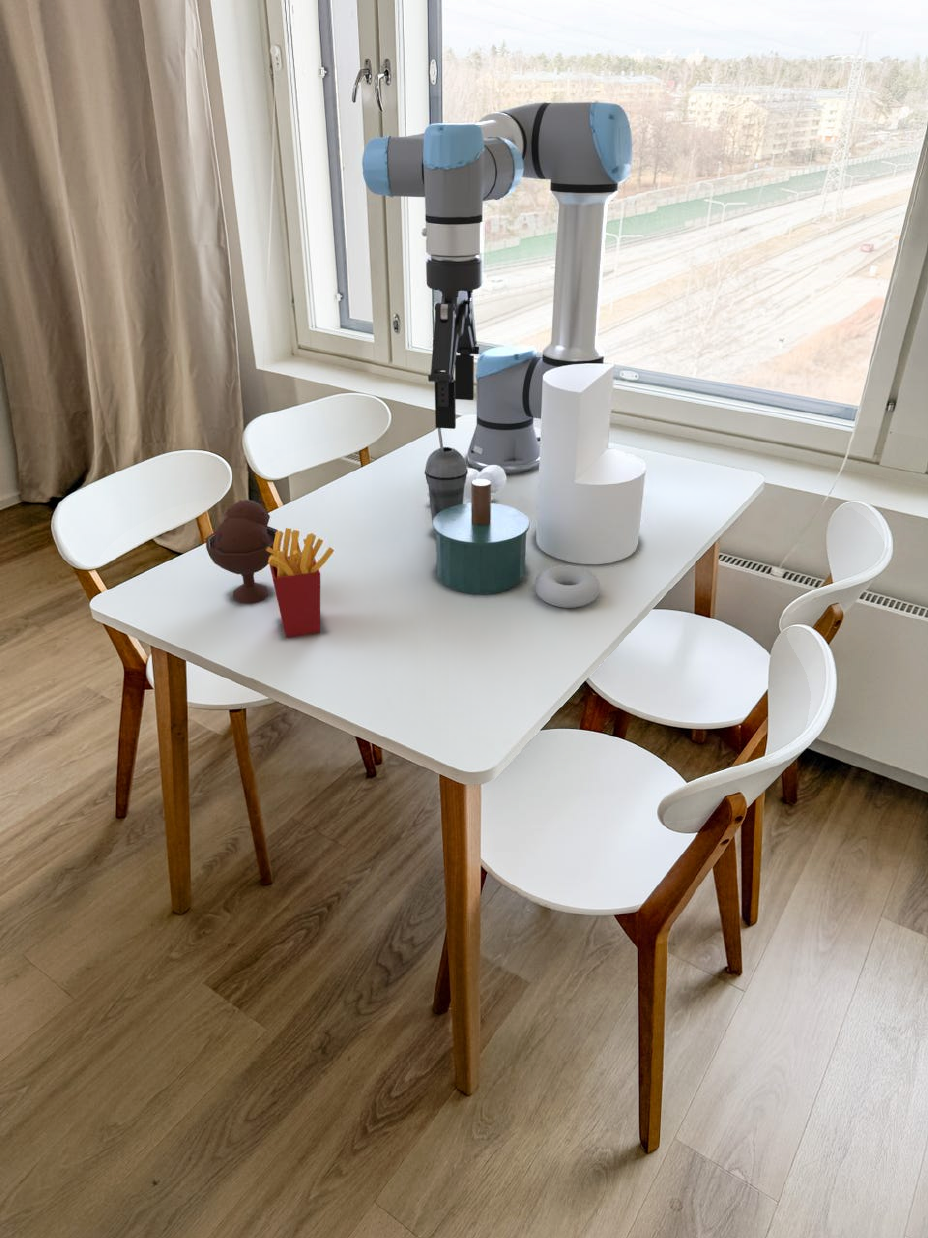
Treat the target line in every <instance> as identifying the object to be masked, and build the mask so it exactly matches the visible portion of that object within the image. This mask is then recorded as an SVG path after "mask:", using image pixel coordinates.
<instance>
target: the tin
mask: <svg viewBox="0 0 928 1238" xmlns="http://www.w3.org/2000/svg"><path fill="white" fill-rule="evenodd" d="M526 549H527V532H526V533H525V534H524V535H523V536H522V537H520V538H518V539H516V540H513V541H511V542H507V543H503V544H497V545H488V546H476V545H465V544H460V543H455V542H452V541H449V540H447V539H445V538H443V537H441V536H440V535H438V534H437V533H436V536H435V555H436V556H435V565H436V567H435V568H436V576H437V579H438V580H439V582H440V583H441V584H442V585H444V587H447V588H449V589H450V590H453V591H456V592H461V593H465V594H470V595H471V594H472V595H491V594H497V593H498V594H499V593H502V592H505V591H509V590H511V589H513V588H515V587H516V586H518V585H520V583H522V581H523V580H524V577H525V573H526V551H527V550H526Z"/></svg>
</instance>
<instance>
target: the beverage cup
mask: <svg viewBox="0 0 928 1238" xmlns="http://www.w3.org/2000/svg"><path fill="white" fill-rule="evenodd" d="M437 435H438V441H439V448H437V449H435V450H434V451H432V453H431V454H429V456H428V458H427V461H426V463H425V469H424V475H425V480H426V484H427V488H428V491H429V496H428V498H429V497H430V501H429V505H430V513H431V521H432V522H431V523H433V519H434V517H435V516H436V515H437V514H438V513H439V512H441V511H443V510H444V509H447V508H449V507H452V506H456V505H460V504H463V496H464V485H465V482H466V476H467V473H468V470H467V468H468V467H467V466H468V465H467V462H466V459H465V458H464V456H463V454H461V452H460V451H458V450H457V449H455V448H453V447H449V446H444V444H443V443H444V442H443V436H442V428H437ZM433 532H434V533H433V535H434V537H436V532H435V530H434V529H433Z"/></svg>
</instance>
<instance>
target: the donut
mask: <svg viewBox="0 0 928 1238" xmlns="http://www.w3.org/2000/svg"><path fill="white" fill-rule="evenodd" d="M533 587H534V591H535V593H536V595H537V596H538V597H539V599H541V600H542V601H543V602H545V603H546V604H549V605H551V606H555V607H557V608H567V609H570V608H571V609H572V608H580V607H584V606H586V605H590V604H591V603H592V602H594V601H595V600H596V599H597V597H599V595H600V593H601V592H600V590H601V582H600V581H599V579H598V577H597V576H596V575H595V574H594V573H593V572H592V571H590V570H588V569H587V568H584V567H581V566H577V565H569V564H562V565H561V564H560V565H555V566H554V565H553V566H550V567H547V568H545V569H543V570H541V572H539V573H538V574H537V576H536V577H535V580H534V585H533Z"/></svg>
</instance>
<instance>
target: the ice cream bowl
mask: <svg viewBox="0 0 928 1238" xmlns="http://www.w3.org/2000/svg"><path fill="white" fill-rule="evenodd" d="M270 518H271V515H270V514H269V512H268V511H267V510H266V508H264V506H262V504H261V503H260V502H257V501H255V500H252V499H251V500H250V499H244V500H243V499H242V500H241V499H240V500H238V501H236V502H235V503H233V504H232V505H230V506H229V507H228V509H227V510H226V518H224V520H223V521H222V522H221V523H220V524H219V525H218V526H217V527H216V528H217V529H216V530H215V531H214V532H212V533H211V534H210V535H208V536H207V537H206V538H205V549H206V552H207V554H208V556H209V558H210V559H211V561H212V562H213V564H215V565H217V567H220V568H221V569H223V570H225V571H227V572H229V573H232V574H235V575H240V576H241V577H242V583H243V584H241V585H239V586H238V587H237V588H235V589H234V590H233V592H232V599H233V601H235V602H238V603H239V604H240V603H241V604H254V603H258V602H260V601H261V602H262V601H264V600H265V599H267V597H268V596H269V595H270V594H269V593H270V592H269V589H268V587H267V586H266V585H263V584H261V583H258V582H255V581H256V580H255V574H256V573H258V572H260V571H262V570H263V569H265V567H266V566H268V565H269V564H268V560H269V557H270V556H271V555H272V556H273V554H272V553H270V552H268V551H266V550H267V548H268V547H270V548H271V549H273V545H274V539H275V535H276V531H279V529H277V528H275V527H271V526H269V521H270V520H271V519H270Z"/></svg>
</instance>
